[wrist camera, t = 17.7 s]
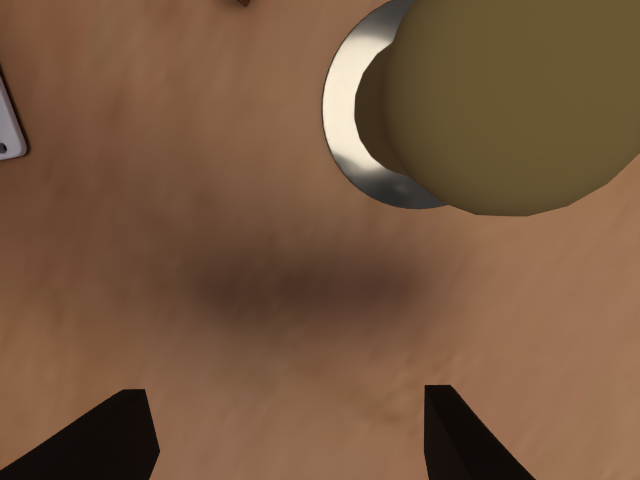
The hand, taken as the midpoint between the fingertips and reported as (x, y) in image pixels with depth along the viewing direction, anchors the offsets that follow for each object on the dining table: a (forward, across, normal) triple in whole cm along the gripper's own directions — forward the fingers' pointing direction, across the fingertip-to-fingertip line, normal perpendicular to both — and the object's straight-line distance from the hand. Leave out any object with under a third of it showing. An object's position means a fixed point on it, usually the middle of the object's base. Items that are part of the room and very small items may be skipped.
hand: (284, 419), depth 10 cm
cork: (+10, -5, -8) cm, 14 cm away
